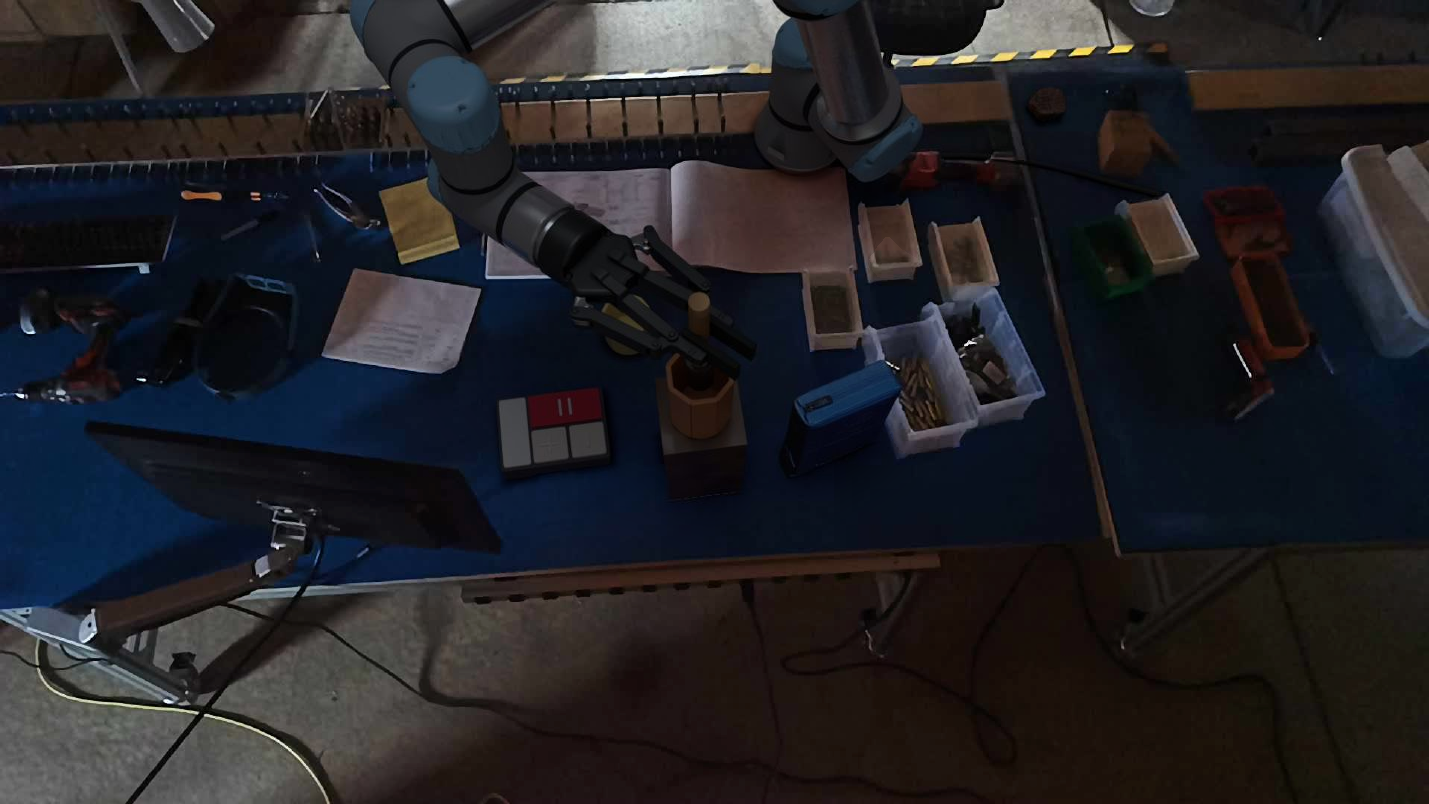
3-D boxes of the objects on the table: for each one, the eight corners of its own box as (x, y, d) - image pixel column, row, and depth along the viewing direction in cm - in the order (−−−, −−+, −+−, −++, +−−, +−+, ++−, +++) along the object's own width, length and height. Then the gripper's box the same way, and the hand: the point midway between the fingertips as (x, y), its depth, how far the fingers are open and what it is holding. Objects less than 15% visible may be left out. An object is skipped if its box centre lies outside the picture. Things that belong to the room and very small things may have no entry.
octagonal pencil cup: (725, 379, 103) (728, 339, 93) (734, 434, 100) (737, 399, 90) (666, 387, 102) (663, 347, 93) (673, 442, 100) (670, 407, 90)
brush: (711, 364, 94) (712, 285, 78) (715, 389, 92) (717, 313, 77) (684, 368, 93) (680, 289, 78) (688, 392, 92) (684, 317, 77)
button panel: (610, 455, 116) (499, 470, 114) (612, 465, 120) (505, 480, 118) (601, 383, 120) (494, 396, 118) (603, 395, 124) (499, 408, 122)
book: (789, 485, 119) (805, 434, 100) (772, 452, 120) (784, 396, 102) (878, 444, 121) (909, 387, 103) (860, 413, 123) (887, 352, 105)
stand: (730, 427, 122) (735, 368, 103) (740, 493, 118) (747, 444, 100) (661, 436, 121) (654, 378, 103) (669, 503, 117) (663, 455, 99)
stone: (1027, 126, 144) (1034, 113, 141) (1019, 93, 147) (1026, 80, 144) (1065, 125, 144) (1073, 112, 141) (1056, 93, 147) (1064, 79, 144)
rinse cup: (649, 311, 129) (647, 291, 124) (654, 352, 126) (652, 333, 121) (603, 316, 129) (599, 296, 123) (607, 357, 126) (603, 339, 120)
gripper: (608, 212, 93) (786, 325, 87) (517, 309, 88) (699, 435, 83) (600, 168, 86) (793, 288, 80) (501, 270, 81) (699, 405, 76)
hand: (745, 362), depth 81 cm, fingers closed on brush, 2 cm apart
